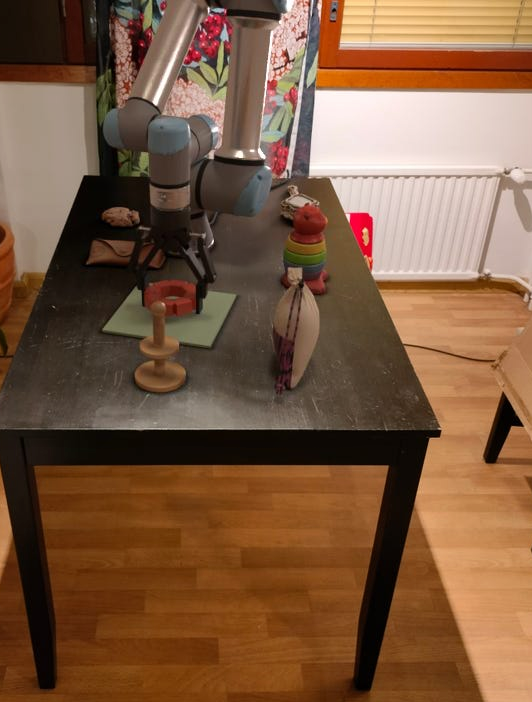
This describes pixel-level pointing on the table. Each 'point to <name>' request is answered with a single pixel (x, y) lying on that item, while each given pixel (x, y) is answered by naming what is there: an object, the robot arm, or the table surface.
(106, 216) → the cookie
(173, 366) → the ring post
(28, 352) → the table surface
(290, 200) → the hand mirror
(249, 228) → the table surface
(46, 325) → the table surface
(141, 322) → the mat
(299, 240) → the stacking bear
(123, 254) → the sunglasses case
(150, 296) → the ring
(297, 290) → the pouch
